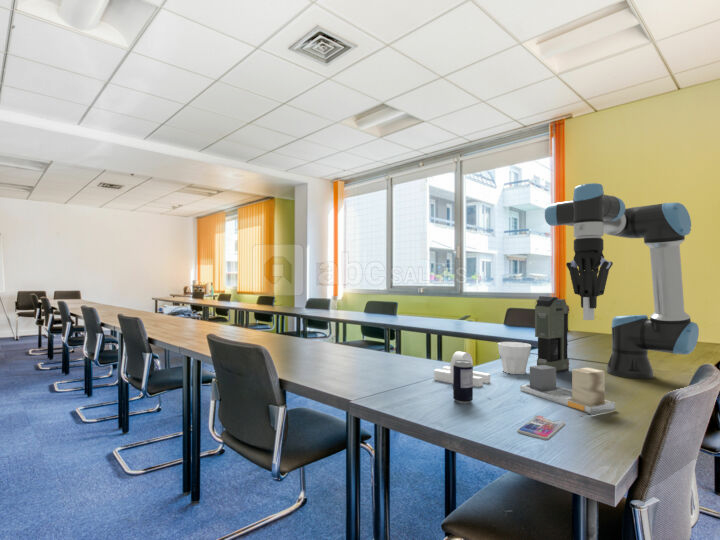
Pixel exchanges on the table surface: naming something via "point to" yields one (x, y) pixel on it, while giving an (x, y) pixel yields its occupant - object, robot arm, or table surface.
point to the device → (552, 332)
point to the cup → (514, 356)
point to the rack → (569, 399)
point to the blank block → (543, 377)
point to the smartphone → (541, 428)
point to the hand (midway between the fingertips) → (588, 319)
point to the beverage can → (463, 381)
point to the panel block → (588, 386)
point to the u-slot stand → (447, 371)
